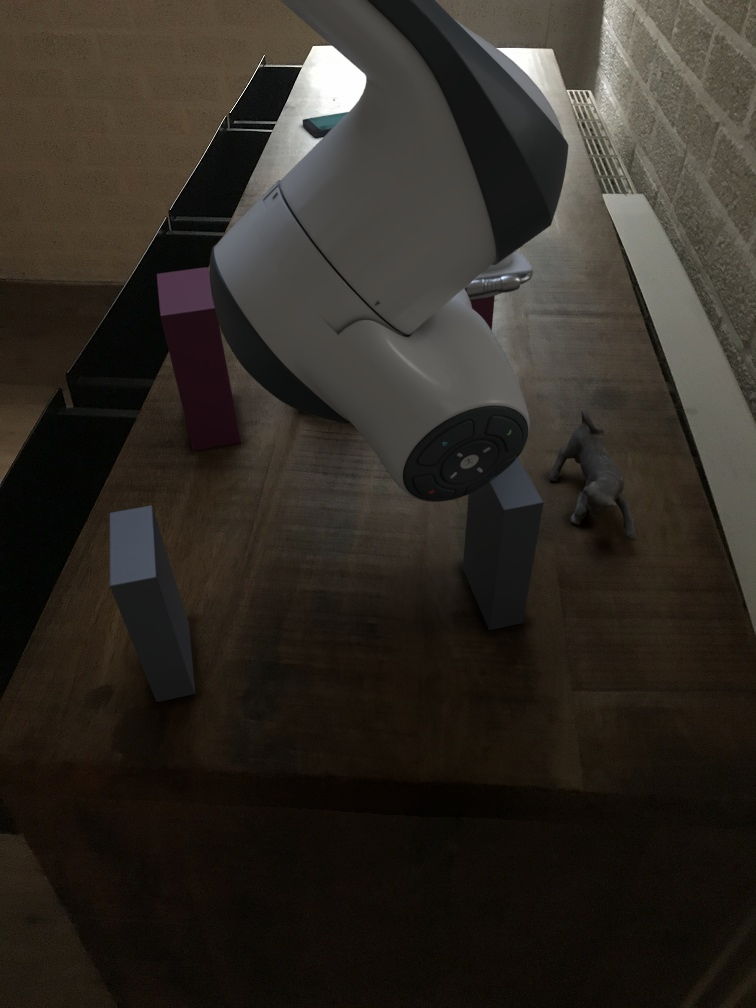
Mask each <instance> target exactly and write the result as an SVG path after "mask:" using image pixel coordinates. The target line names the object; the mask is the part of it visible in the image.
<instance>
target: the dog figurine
mask: <svg viewBox="0 0 756 1008" xmlns="http://www.w3.org/2000/svg"><path fill="white" fill-rule="evenodd" d="M556 457H557V458H556V460H555V462H554V464H553V467H552V469H551V472H550V474H549V475H548V478H549V480H550V481H551V482H557V481H559V479H560V477H561V471H562V468H563V467H564V465H565V462H567V460H568V459H574V462H575V463H577V464H579V465H580V468H581V472H582V474H583V476H584V479H585V480H586V483H585V485H584V488H583V490H580V491H579V493H578V496H577V497H576V501H575V502H576V503H575V509H574V512H573V513H572V514H571V517H570V522H571V523H572V524H574V525H576V526H578V525H581V523H582V520H583V519H584V518H585V517H586V516H587V515H588V512H589V515H591V516H592V517H598V516H601V514H602V513H603V512H604V511H606V510H607V509H612V508H614V507H616V506H618V508H619V509H620V512H621V514H622V521H623V525H622V526H623V528H624V537H625V538H626V539H627V540H629V541H637V533H636V530H635V523H634V519H633V517H632V515H631V510H630V505H629V503H628V499H627V496H626V492H625V480H624V476H623V473H622V471H621V469H620V468H619V467H618V466H617V465H616V464H615V462H614V460H613V458H612V457H611V455H610V454H609V453H608V452H607V450H606V444H605V432H604V428H603V427H602V426H597V425H596V424H595V422H593V420H592V418H591V415H590V414H589V411H588V410H587V409H582V410H581V424H580V425H579V426H578V427H577V428H576V429H575V430H574V431H573V433H572V434H571V436H570V438H569V439H568V441H567V443H566V445H564V446H562V447H560V449H559V450H558V452H557V456H556Z"/></svg>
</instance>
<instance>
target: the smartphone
mask: <svg viewBox="0 0 756 1008" xmlns="http://www.w3.org/2000/svg"><path fill="white" fill-rule="evenodd" d="M348 112H349V111H345V112H339V113H333V114H325V115H319V116H315V117H310V118H304V119H302V127H303V128H304V129H305V130H306V131H308V132H309V133H310V135H312V136H313V137H315V138H321V137H324V136H325V135H326V134H327V133H328V132H329V131H330V130H331V129H332V128H333V127H334V126H335V125H336V124H337V123H338V122H339V121H340V120H341V119H342V118H343V117H344V116H345V115H346V114H347V113H348Z"/></svg>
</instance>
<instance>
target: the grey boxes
mask: <svg viewBox="0 0 756 1008" xmlns="http://www.w3.org/2000/svg"><path fill="white" fill-rule="evenodd" d="M467 496H468V497H467V498H468V499H467V510H466V523H465V537H464V546H463V547H464V549H463V559H462V570H463V572H464V575H465V577H466V580H467V582H468V584H469V586H470V589H471V591H472V594H473V596H474V598H475V600H476V603H477V605H478V606H477V607H478V608H479V610H480V612H481V615H482V617H483V620H484V622H485V624H486V626H487V629H488V631H493V630H497V629H498V630H499V629H502V628H506V627H511V626H516V625H520V624H523V623H524V620H525V614H526V608H527V602H528V597H529V596H528V595H529V592H530V591H529V590H530V585H531V580H532V573H533V567H534V561H535V555H536V550H537V544H538V538H539V533H540V527H541V520H542V516H543V508H544V504H545V503H544V500H543V499H542V497H541V495H540V493H539V492H538V490H537V488H536V486H535V485H534V483H533V481H532V479H531V477H530V476H529V474H528V472H527V470H526V469H525V466H524V465H523V463H522V462H521V460H520V458H519V456H518V457H517V458H516V460H515V461H514V462H513V463H512V464H511V465H510V466H509V467H508V468H507V469H506V470H505V471H503V472H502V473H501V474H500V475H498V476H497V477H496V478H494V479H493V480H492V481H490V482H489V483H487V484H486V485H484V486H483V487H481V488H480V489H478V490H476V491H475V492H473V493H471V494H469V495H467ZM109 588H110V590H111V593H112V595H113V598H114V601H115V603H116V606H117V607H118V610H119V613H120V615H121V618H122V620H123V622H124V626H125V628H126V630H127V633H128V635H129V637H130V640H131V642H132V645H133V647H134V650H135V652H136V655H137V657H138V660H139V662H140V664H141V668H142V670H143V672H144V675H145V678H146V680H147V683H148V685H149V687H150V690H151V692H152V695H153V697H154V699H155V703H159V702H165V701H169V700H173V699H179V698H183V697H188V696H192V695H195V694H196V685H195V674H194V664H193V662H194V661H193V653H192V652H193V651H192V642H191V641H192V640H191V633H190V632H191V629H190V622H189V619H188V615H187V613H186V609H185V607H184V604H183V601H182V598H181V597H182V596H181V593H180V589H179V587H178V583H177V580H176V578H175V575H174V570H173V568H172V564H171V561H170V558H169V555H168V551H167V549H166V546H165V542H164V539H163V536H162V532H161V529H160V526H159V523H158V520H157V516H156V513H155V511H154V507H153V506H152V505H148V506H141V507H134V508H130V509H129V508H128V509H124V510H118V511H113V512H110V513H109Z"/></svg>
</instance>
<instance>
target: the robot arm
mask: <svg viewBox="0 0 756 1008" xmlns="http://www.w3.org/2000/svg"><path fill="white" fill-rule="evenodd" d="M2 1H3V0H0V2H2ZM279 1H280V2H281V3H282V4H283V5H285V6H286V7H287V8H288V9H289V10H290V11H292V12H293V13H294V14H295V15H296V16H297V17H298V18H300V19H301V21H303V22H304V23H305V24H307V26H308V27H310V28H311V29H312V30H314V31H315V33H317V35H319V37H321V38H322V39H324V40H325V41H326V42H327V43H328V44H329V45H330V46H331V47H333V48H334V49H335V50H336V51H337V52H339V53H340V54H341V55H342V56H343V57H344V58H346V59H347V60H348V61H349V62H350V63H351V64H353V66H355V67H356V68H357V69H358V70H359V71H360V72H362V73H363V74H364V76H365V87H364V89H363V92H362V94H361V96H360V97H359V99H358V101H356V103H355V104H354V106H353V107H352V108H351V109H350V110H349V111H347V112H348V113H347V114H346V115H345V116H344V117H343V118H342V119H341V120H340V121H339V122H338V123H337V124H336V125H335V126H334V127H333V128H332V129H331V130H330V131H329V132H328V133H327V134H326V135H325V136H322V138H321V139H320V140H319V141H318V142H317V143H316V144H315V146H313V147H312V148H311V149H310V150H309V151H308V152H307V153H306V154H305V155H304V156H303V157H302V158H301V159H300V160H299V161H298V163H296V164H295V165H294V166H293V168H291V170H289V171H288V172H287V174H285V175H284V176H283V177H282V178H281V179H278V180H277V181H276V182H275V183H273V185H272V186H271V187H269V189H268V190H267V191H266V192H265V193H264V194H263V195H262V196H261V197H260V198H259V199H258V200H257V201H256V202H254V204H253V205H252V206H251V207H249V209H248V210H247V211H246V212H245V213H244V214H243V215H242V216H241V217H240V218H239V219H238V220H237V222H235V224H234V225H232V226H231V227H230V228H229V230H227V232H226V233H225V234H224V235H223V236H222V237H221V238H220V240H218V242H217V243H216V244H214V245H213V246H212V248H211V251H210V258H209V273H210V286H211V293H212V298H213V303H214V307H215V312H216V316H217V320H218V323H219V327H220V332H221V334H222V336H223V337H224V339H225V341H226V343H227V345H228V347H229V348H230V350H231V352H232V353H233V355H234V357H235V358H236V359H237V361H238V362H239V364H240V365H241V367H242V368H243V369H244V370H245V371H246V372H247V374H249V376H250V377H252V378H253V379H254V381H256V382H257V383H258V384H259V385H260V386H261V387H262V388H263V389H265V391H267V392H268V393H269V394H271V395H272V396H273V397H275V398H276V399H277V400H279V401H280V402H282V403H283V404H285V405H287V406H289V407H290V408H293V409H294V410H296V411H299V412H301V413H304V414H306V415H310V416H313V417H315V418H319V419H322V420H326V421H328V422H334V423H339V424H344V425H352V426H354V428H355V429H356V430H357V431H358V432H359V434H360V435H361V436H362V438H364V440H365V441H366V442H367V444H368V445H369V446H370V448H371V449H372V450H373V452H374V454H375V455H376V457H377V458H378V459H379V461H380V463H381V464H382V465H383V467H384V469H385V470H386V472H387V474H388V475H389V476H390V478H391V479H392V480H393V482H394V483H395V484H396V485H397V486H398V488H400V489H401V490H402V491H403V492H404V493H406V494H407V495H408V496H410V497H412V498H413V499H416V500H418V501H423V502H432V503H437V502H447V501H454V500H457V499H461V498H463V497H465V496H469V494H471V493H473V492H475V491H476V490H478V489H480V488H481V487H483V486H484V485H486V484H487V483H489V482H490V481H492V480H493V479H494V478H496V477H497V476H498V475H500V474H501V473H502V472H503V471H505V470H506V469H507V468H508V467H509V466H510V465H511V464H512V463H513V462H514V461H515V460H516V458H517V457H518V458H519V456H520V455H521V454H522V452H523V451H524V449H525V446H526V444H527V442H528V439H529V435H530V431H531V421H530V414H529V410H528V406H527V402H526V400H525V397H524V394H523V391H522V389H521V386H520V384H519V381H518V379H517V376H516V374H515V372H514V369H513V368H512V367H513V366H511V363H510V360H509V359H508V357H507V355H506V353H505V351H504V350H503V348H502V346H501V344H500V342H499V340H498V338H497V337H496V336H495V333H494V332H493V330H492V331H491V329H490V327H489V326H488V325H487V323H486V322H485V320H484V319H483V318H482V317H481V316H480V315H479V314H478V313H477V312H476V311H474V310H473V309H472V306H471V302H470V300H472V299H479V298H486V297H491V296H495V297H496V296H498V295H501V294H505V293H507V294H508V293H511V292H515V291H517V290H519V289H520V288H521V285H523V284H526V283H527V282H529V281H531V279H532V278H533V276H534V269H533V266H532V264H531V263H530V262H529V260H528V259H527V258H526V256H525V255H523V254H522V253H521V252H519V251H518V250H519V249H521V248H522V247H523V246H524V245H526V244H527V243H528V242H530V241H532V240H533V239H534V238H536V237H537V236H538V235H540V234H541V233H542V232H544V231H545V230H547V229H548V228H550V227H551V226H552V223H553V221H554V218H555V214H556V211H557V208H558V205H559V201H560V199H561V198H560V197H561V194H562V189H563V187H564V181H565V176H566V170H567V166H568V165H567V164H568V158H569V157H568V156H569V142H568V140H566V138H565V137H564V133H563V128H562V125H561V124H560V121H559V118H558V116H557V113H556V112H555V110H554V107H552V105H551V103H550V102H549V100H548V99H547V96H545V94H544V93H543V92H542V90H541V89H540V87H539V86H538V84H536V83H535V81H533V79H532V78H531V77H530V76H529V74H528V73H526V72H525V71H524V70H523V68H521V67H520V66H519V65H518V64H517V63H516V62H515V61H514V60H512V59H511V58H510V57H509V56H507V54H505V53H504V52H502V50H500V49H498V48H497V47H496V46H494V45H493V44H491V43H490V42H489V41H488V40H485V39H484V38H483V37H481V36H480V35H478V34H476V32H474V31H472V30H471V29H469V28H468V27H466V26H465V25H463V24H462V23H461V22H459V21H458V20H456V19H455V18H454V17H452V16H451V14H450V13H448V12H447V10H445V9H444V8H443V6H441V5H440V4H439V3H438V2H437V1H436V0H279Z"/></svg>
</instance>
